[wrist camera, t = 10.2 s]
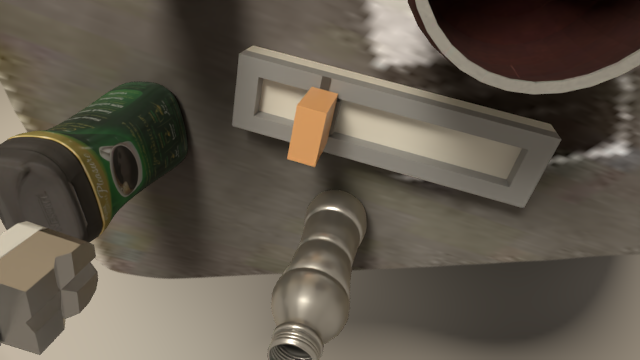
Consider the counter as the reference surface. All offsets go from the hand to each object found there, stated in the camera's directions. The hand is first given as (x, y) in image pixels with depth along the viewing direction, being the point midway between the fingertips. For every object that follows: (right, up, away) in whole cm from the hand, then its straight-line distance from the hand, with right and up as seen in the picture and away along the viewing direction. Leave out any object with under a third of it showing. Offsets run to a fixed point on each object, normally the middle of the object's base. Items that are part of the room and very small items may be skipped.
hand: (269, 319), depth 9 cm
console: (+8, +9, +32) cm, 34 cm away
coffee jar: (-17, +9, +38) cm, 42 cm away
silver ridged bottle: (+3, 0, +38) cm, 38 cm away
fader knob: (+1, +9, +30) cm, 32 cm away
